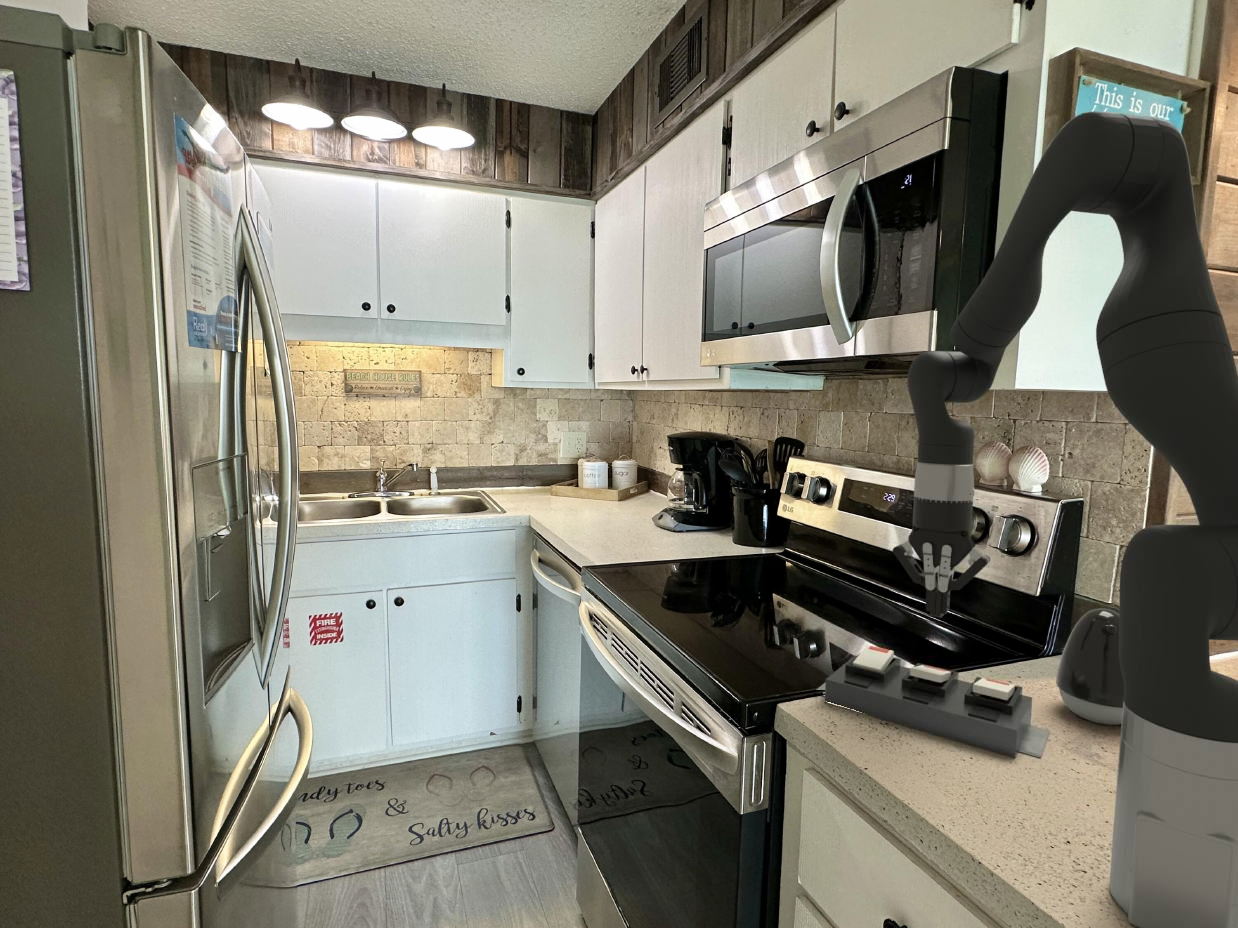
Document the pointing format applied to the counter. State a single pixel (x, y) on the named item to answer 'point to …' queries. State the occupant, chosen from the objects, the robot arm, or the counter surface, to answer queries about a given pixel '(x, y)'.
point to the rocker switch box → (939, 707)
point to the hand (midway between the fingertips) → (937, 615)
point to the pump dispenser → (1093, 669)
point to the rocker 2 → (994, 688)
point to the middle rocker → (930, 673)
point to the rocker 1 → (874, 658)
